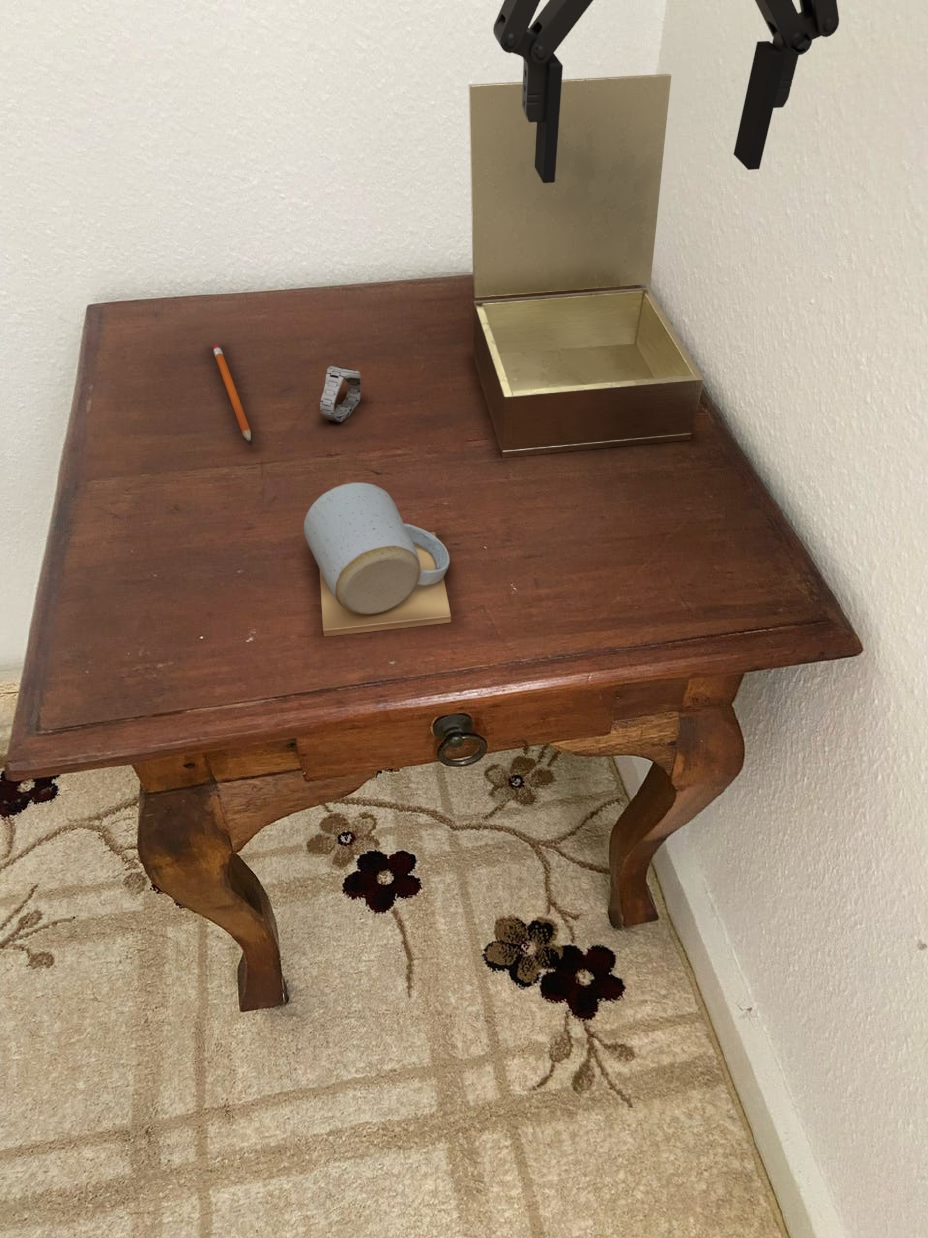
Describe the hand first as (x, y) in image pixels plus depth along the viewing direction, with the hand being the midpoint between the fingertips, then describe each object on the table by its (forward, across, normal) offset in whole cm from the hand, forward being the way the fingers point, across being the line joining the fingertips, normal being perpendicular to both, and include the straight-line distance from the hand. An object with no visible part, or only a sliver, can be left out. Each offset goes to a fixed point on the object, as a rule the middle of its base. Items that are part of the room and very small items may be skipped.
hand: (646, 168), depth 57 cm
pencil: (+29, +33, -23) cm, 50 cm away
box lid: (+12, -2, -27) cm, 30 cm away
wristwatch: (+29, +22, -18) cm, 41 cm away
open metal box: (+29, -2, -17) cm, 33 cm away
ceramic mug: (+28, +20, +7) cm, 35 cm away
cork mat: (+29, +20, +7) cm, 36 cm away
